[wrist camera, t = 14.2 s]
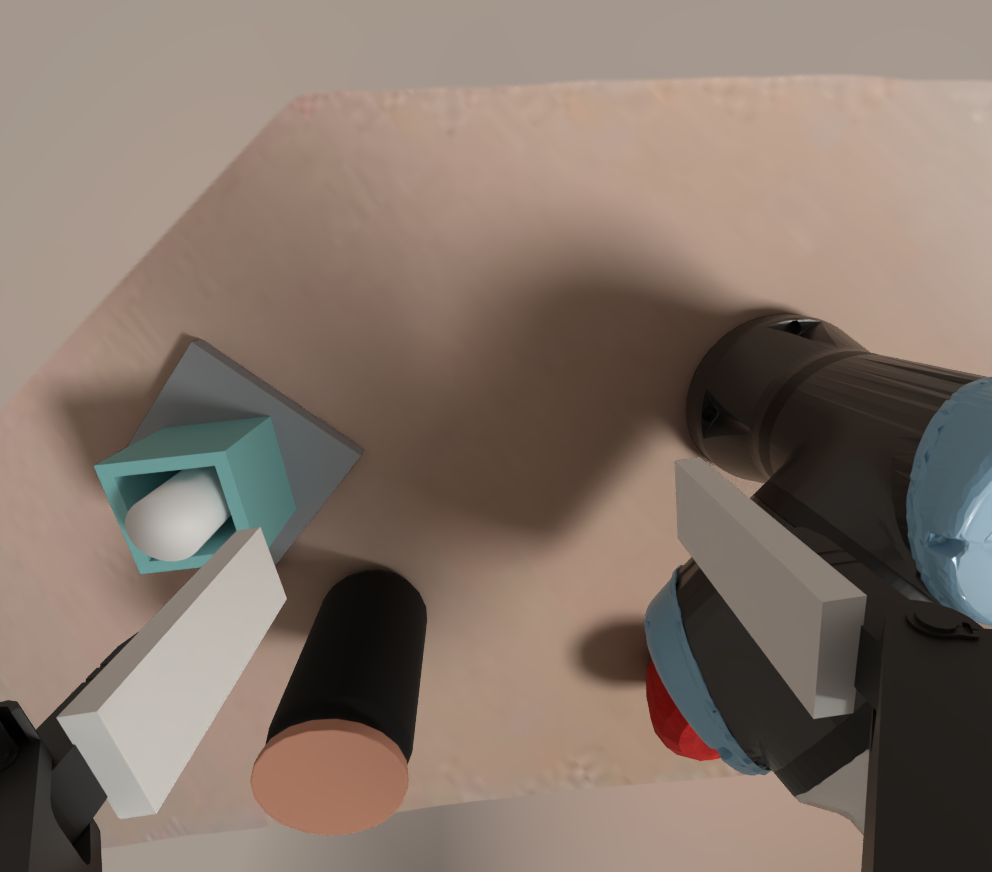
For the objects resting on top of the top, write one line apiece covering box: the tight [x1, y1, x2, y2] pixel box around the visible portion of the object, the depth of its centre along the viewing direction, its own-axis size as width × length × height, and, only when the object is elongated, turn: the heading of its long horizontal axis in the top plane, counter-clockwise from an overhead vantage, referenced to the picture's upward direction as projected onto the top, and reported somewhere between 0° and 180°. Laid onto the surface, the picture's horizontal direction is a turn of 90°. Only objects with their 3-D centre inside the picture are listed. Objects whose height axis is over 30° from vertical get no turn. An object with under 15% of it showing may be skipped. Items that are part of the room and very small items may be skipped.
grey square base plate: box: [125, 339, 364, 566], centre depth 37 cm, size 16×16×12 cm
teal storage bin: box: [94, 416, 296, 574], centre depth 38 cm, size 9×9×8 cm
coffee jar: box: [250, 570, 427, 835], centre depth 41 cm, size 11×11×18 cm
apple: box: [646, 660, 721, 761], centre depth 49 cm, size 10×10×11 cm
